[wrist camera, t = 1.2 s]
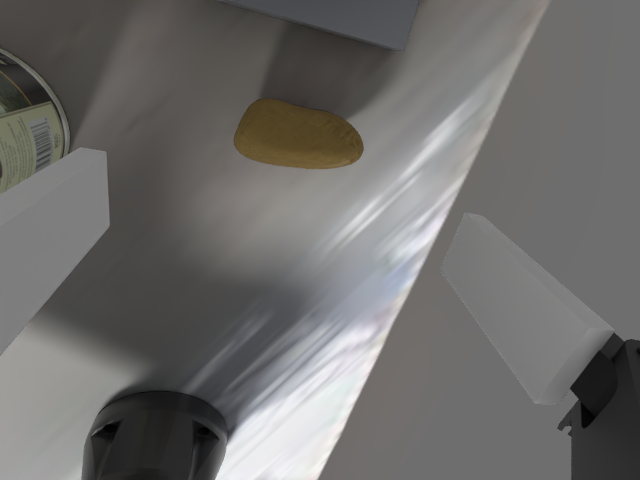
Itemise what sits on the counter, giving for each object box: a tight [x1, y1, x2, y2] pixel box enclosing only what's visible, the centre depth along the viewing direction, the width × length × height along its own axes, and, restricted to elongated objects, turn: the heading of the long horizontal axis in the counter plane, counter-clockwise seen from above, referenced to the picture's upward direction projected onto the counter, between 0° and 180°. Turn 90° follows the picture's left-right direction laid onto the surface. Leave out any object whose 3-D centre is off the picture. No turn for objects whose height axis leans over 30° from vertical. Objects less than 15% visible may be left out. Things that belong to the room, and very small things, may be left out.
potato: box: [234, 98, 363, 169], centre depth 26 cm, size 7×8×8 cm
